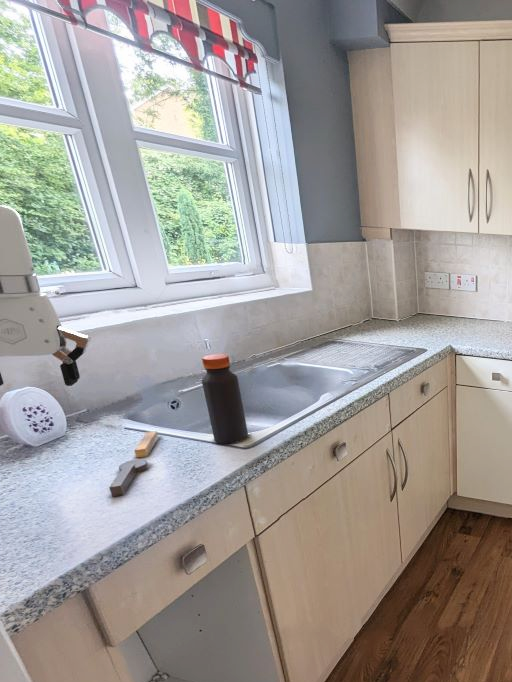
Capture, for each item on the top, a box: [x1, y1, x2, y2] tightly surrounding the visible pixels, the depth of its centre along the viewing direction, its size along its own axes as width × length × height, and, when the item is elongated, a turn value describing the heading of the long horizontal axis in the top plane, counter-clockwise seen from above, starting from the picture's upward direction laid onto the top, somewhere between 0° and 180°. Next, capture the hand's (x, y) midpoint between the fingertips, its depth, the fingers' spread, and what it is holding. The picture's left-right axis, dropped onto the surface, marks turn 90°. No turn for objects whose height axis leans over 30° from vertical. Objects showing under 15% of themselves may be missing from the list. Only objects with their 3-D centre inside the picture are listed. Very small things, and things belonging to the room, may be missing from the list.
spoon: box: [108, 458, 149, 497], centre depth 88 cm, size 13×4×2 cm, turn 26°
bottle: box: [201, 353, 249, 445], centre depth 104 cm, size 7×7×20 cm
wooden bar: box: [134, 430, 159, 459], centre depth 101 cm, size 10×2×2 cm, turn 26°
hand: (35, 385), depth 79 cm, fingers open, 9 cm apart
